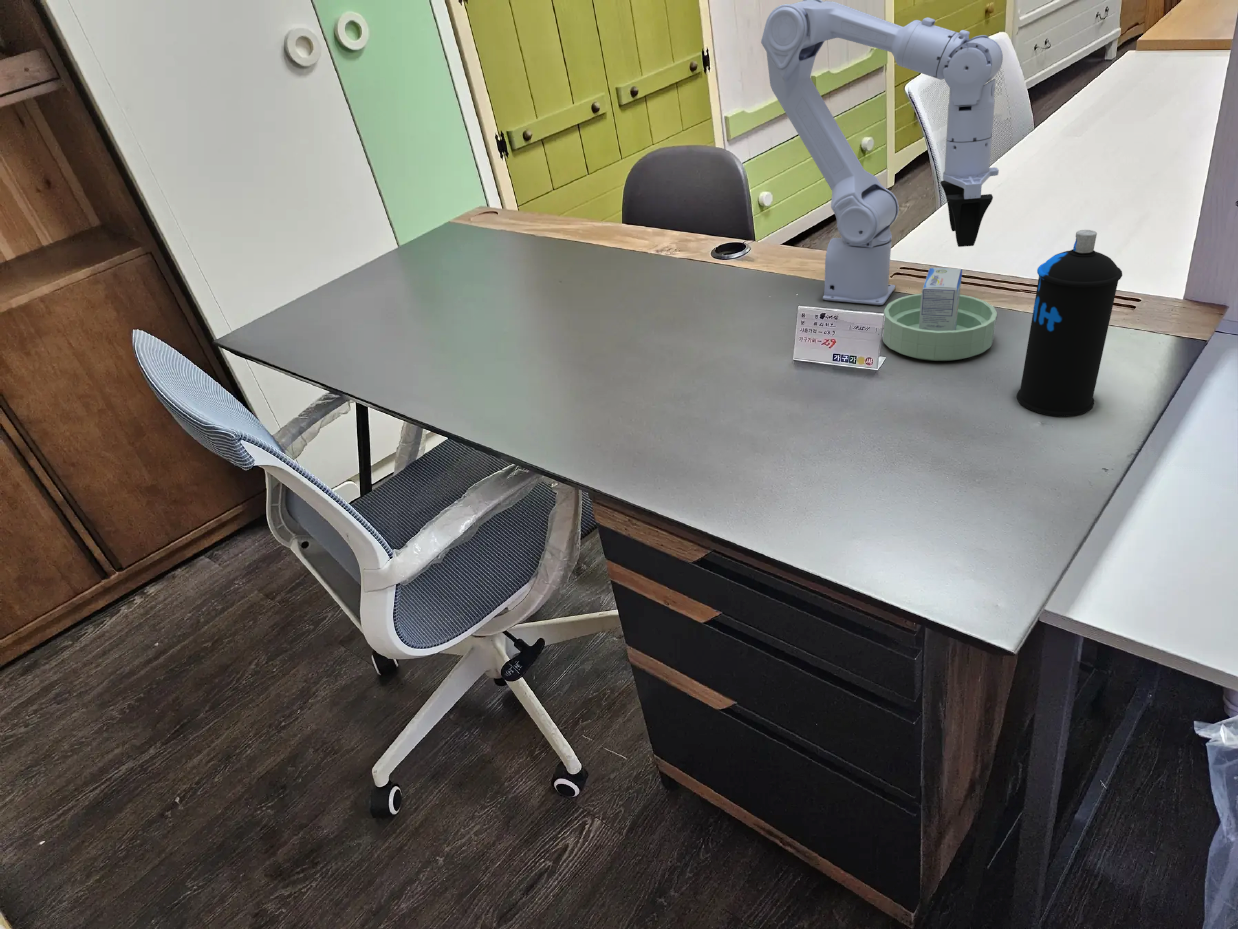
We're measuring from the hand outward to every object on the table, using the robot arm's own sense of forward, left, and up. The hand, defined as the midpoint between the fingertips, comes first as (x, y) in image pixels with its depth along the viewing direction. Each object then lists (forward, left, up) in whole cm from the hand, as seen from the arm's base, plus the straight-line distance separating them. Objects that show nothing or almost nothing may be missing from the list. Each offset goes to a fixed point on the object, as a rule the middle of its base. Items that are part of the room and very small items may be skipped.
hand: (962, 237), depth 121 cm
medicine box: (0, -13, -10) cm, 17 cm away
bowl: (0, -13, -10) cm, 17 cm away
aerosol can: (+16, -26, -11) cm, 33 cm away
